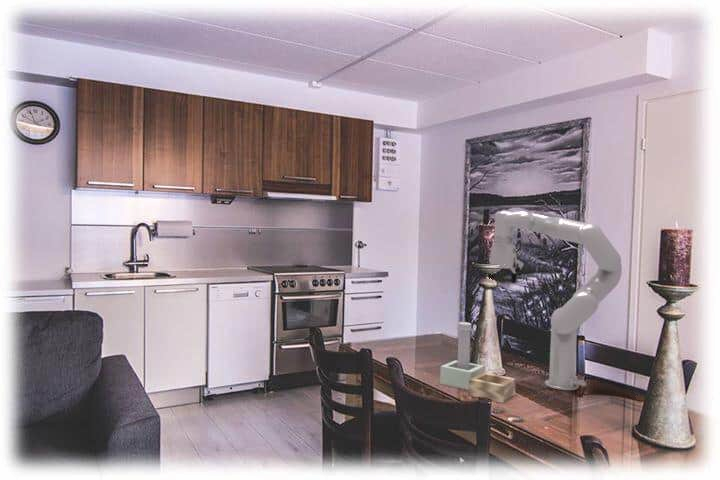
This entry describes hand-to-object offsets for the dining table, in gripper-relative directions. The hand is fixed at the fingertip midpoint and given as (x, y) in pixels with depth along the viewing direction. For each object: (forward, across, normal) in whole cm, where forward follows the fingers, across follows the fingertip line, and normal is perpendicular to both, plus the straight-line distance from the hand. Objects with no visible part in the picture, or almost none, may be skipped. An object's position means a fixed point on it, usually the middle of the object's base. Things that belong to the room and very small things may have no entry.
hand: (502, 281), depth 221 cm
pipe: (+40, +8, +18) cm, 45 cm away
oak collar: (+40, -7, +24) cm, 47 cm away
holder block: (+40, +8, +18) cm, 45 cm away
